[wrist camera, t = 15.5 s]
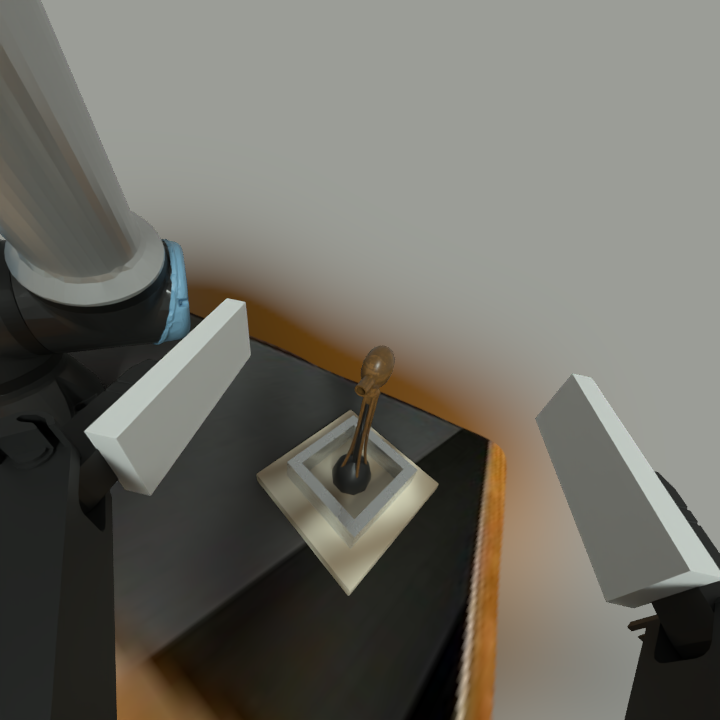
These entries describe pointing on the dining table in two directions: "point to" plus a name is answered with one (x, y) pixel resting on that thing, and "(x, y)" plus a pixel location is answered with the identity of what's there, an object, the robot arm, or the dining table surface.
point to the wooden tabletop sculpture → (363, 422)
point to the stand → (317, 531)
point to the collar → (326, 503)
